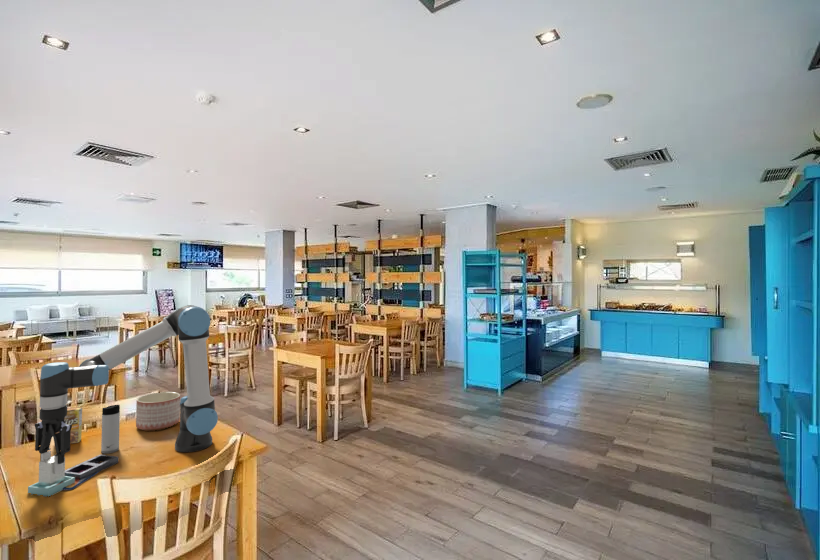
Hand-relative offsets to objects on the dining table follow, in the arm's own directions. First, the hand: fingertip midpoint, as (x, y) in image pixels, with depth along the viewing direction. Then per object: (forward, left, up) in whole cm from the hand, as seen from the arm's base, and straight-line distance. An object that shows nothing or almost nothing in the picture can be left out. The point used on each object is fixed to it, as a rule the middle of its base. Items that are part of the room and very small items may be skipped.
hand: (52, 471), depth 146 cm
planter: (+13, -62, -7) cm, 64 cm away
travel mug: (+9, -31, -7) cm, 33 cm away
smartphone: (-2, -7, -7) cm, 10 cm away
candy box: (+35, -34, -7) cm, 50 cm away
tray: (0, 0, -6) cm, 6 cm away
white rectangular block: (0, 0, -4) cm, 4 cm away
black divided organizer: (0, -15, -6) cm, 16 cm away
